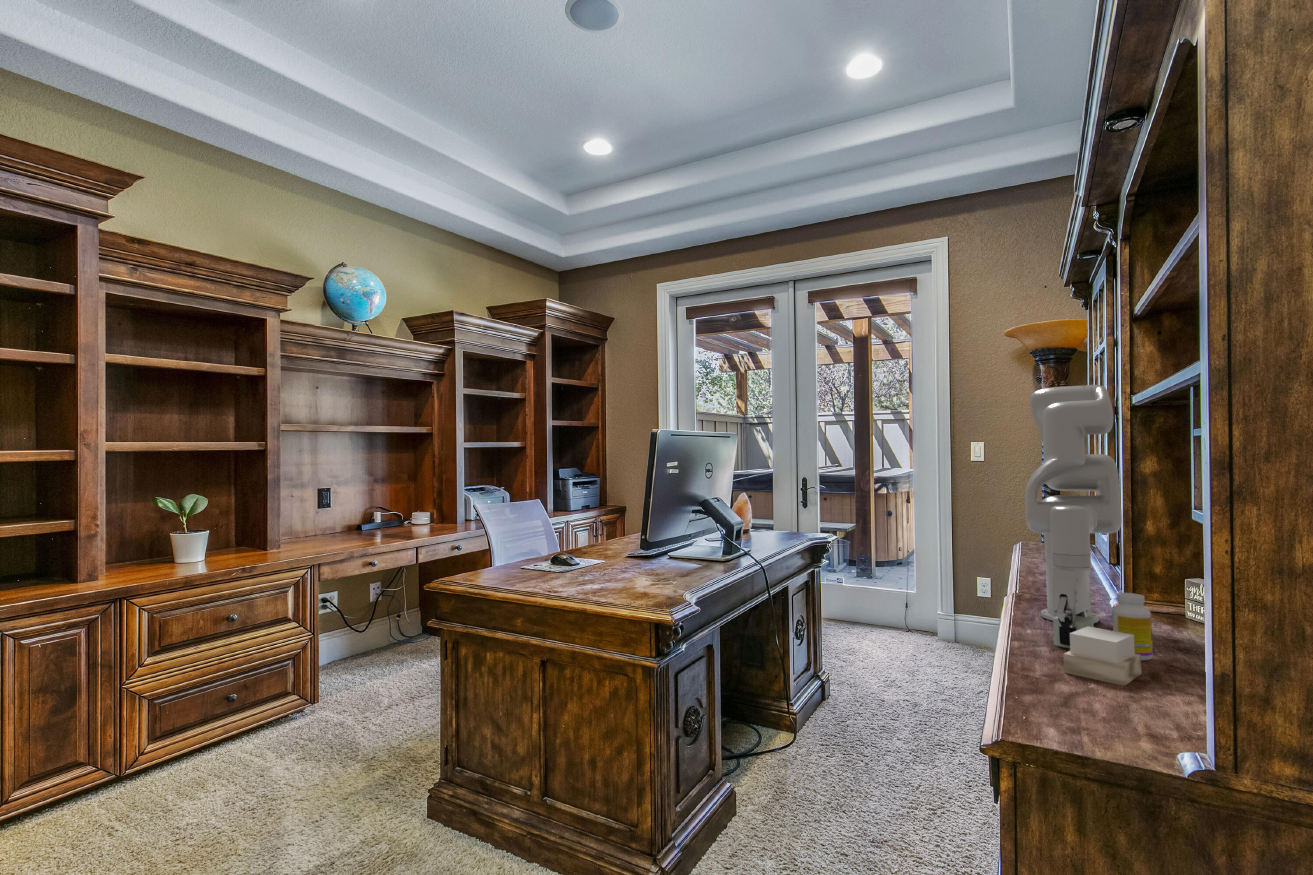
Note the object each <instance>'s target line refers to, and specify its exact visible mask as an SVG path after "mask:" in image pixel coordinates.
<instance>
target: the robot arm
mask: <svg viewBox="0 0 1313 875" xmlns="http://www.w3.org/2000/svg"><path fill="white" fill-rule="evenodd" d="M1029 408H1030V412H1031V417H1032V419H1033V421H1034V424H1035V426H1036V427H1037V428H1036V429H1037V430H1038V432H1039V434H1040V436H1041V440H1042V450H1043V452H1042V454H1043V463H1042V464H1041V465H1040V466H1039V467H1038V468H1037V469H1035V471H1034V472H1033V473H1032V474H1031V476H1030V477H1029V479H1028V481H1027V483H1026V487H1025V491H1024V492H1025V493H1024V507H1025V508H1024V511H1025V512H1024V514H1025V515H1024V516H1025V523H1026V525H1027V528H1028V529H1029V531H1032V532H1034V533H1037V534H1043V540H1044V543H1043V544H1044V557H1045V579H1046V581H1045V582H1046V603H1047V605H1046V607H1047V608H1044V609H1042V610H1041V609H1040V616H1041V617H1042V618H1043V619H1046V620H1048V621H1052V622H1053V618H1055V617H1058V620H1059V636H1060V644H1063V645H1068V646H1070V633H1072V632H1074V631H1076V628H1074V625H1075V615H1076V616H1082V617H1088V618H1093V623H1094V624H1097V623H1098V622H1099V620H1100V619H1099V615H1098V614H1095V613H1094V612H1092V607H1091V606H1092V601H1091V584H1090V582H1091V578H1090V571H1091V570H1092V558H1091V556H1092V555H1091V534H1106V535H1107V534H1110V535H1111V534H1115V533H1118V531H1120V530H1121V527H1122V522H1123V520H1122V505H1121V504H1122V503H1121V494H1120V493H1121V492H1120V491H1121V490H1120V481H1119V472H1118V465H1117V463H1116V462H1115V460H1114V458H1112V457H1111V456H1109V455H1107V454H1103V453H1094V454H1093V453H1089V454H1086V448H1085V435H1088V436H1089V435H1105V434H1108V433H1110V432H1111V430H1112V428H1113V426H1114V411H1113V405H1112V402H1111V398H1110V393H1109V391H1108V389H1107V388H1106V387H1105V386H1103V385H1101V384H1086V385H1085V384H1084V385H1072V386H1071V385H1070V386H1053V387H1047V388H1046V387H1045V388H1041V389H1037V390H1036V391H1034V392H1033V393H1032V394H1031V395H1030V398H1029ZM1044 484H1046V485H1047V487H1048V488H1049V489H1051V490H1055V491H1059V492H1061V491H1062V492H1095V493H1096V494H1097V495H1080V494H1079V495H1078V494H1077V495H1075V494H1073V495H1072V494H1069V495H1068V494H1057V495H1050V496H1047V497H1045V498H1044V499H1043V500H1041V501H1039V499H1038V498H1039V491H1040V489H1041V487H1042V486H1044ZM1066 616H1070V617H1071V618H1070V620H1069V618H1068V617H1066Z"/></svg>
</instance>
